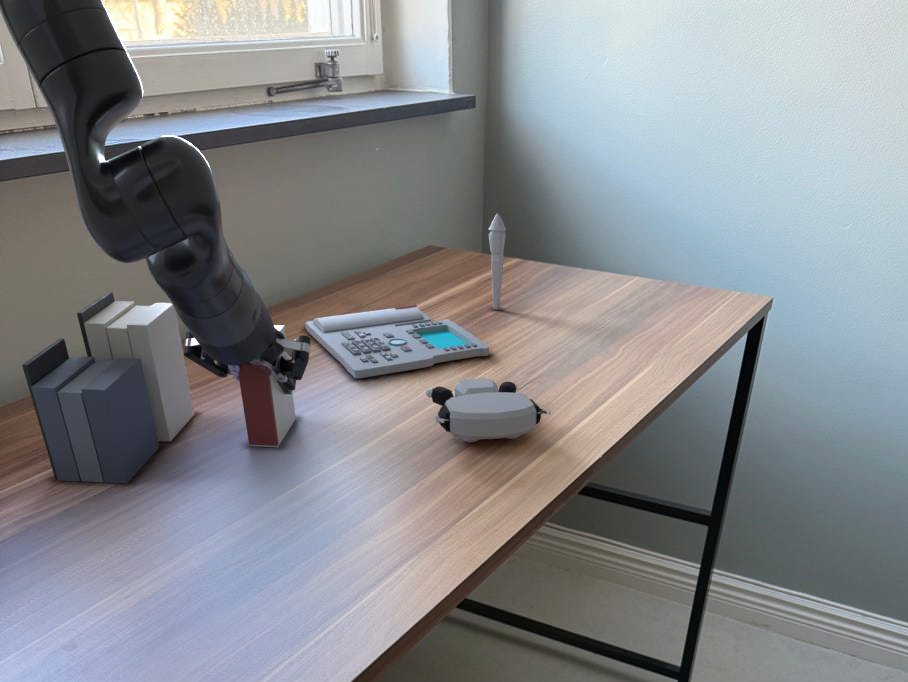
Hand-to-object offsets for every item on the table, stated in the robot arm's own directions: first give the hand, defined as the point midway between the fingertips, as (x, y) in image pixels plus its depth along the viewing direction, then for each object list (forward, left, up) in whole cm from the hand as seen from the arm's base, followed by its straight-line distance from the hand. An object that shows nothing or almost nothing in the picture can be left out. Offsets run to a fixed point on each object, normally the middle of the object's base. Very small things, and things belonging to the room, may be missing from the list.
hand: (272, 385), depth 104 cm
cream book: (0, -2, -5) cm, 5 cm away
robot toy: (+24, +2, -5) cm, 25 cm away
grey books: (-15, -12, -5) cm, 20 cm away
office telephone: (+9, +30, -5) cm, 32 cm away
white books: (-14, -2, -5) cm, 15 cm away
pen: (+22, +48, -5) cm, 53 cm away
